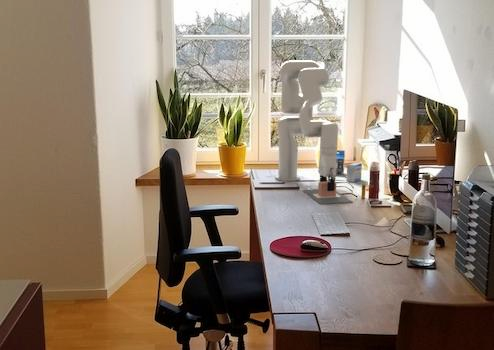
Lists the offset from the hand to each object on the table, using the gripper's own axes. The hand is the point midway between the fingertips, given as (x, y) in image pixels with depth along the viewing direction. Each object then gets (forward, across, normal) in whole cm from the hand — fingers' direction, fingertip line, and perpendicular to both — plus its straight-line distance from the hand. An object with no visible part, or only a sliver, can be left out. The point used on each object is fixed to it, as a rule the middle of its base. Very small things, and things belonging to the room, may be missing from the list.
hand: (326, 188), depth 258 cm
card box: (+3, 0, 0) cm, 3 cm away
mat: (+4, 0, 0) cm, 4 cm away
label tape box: (+4, -46, +22) cm, 51 cm away
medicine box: (+4, -28, +25) cm, 38 cm away
